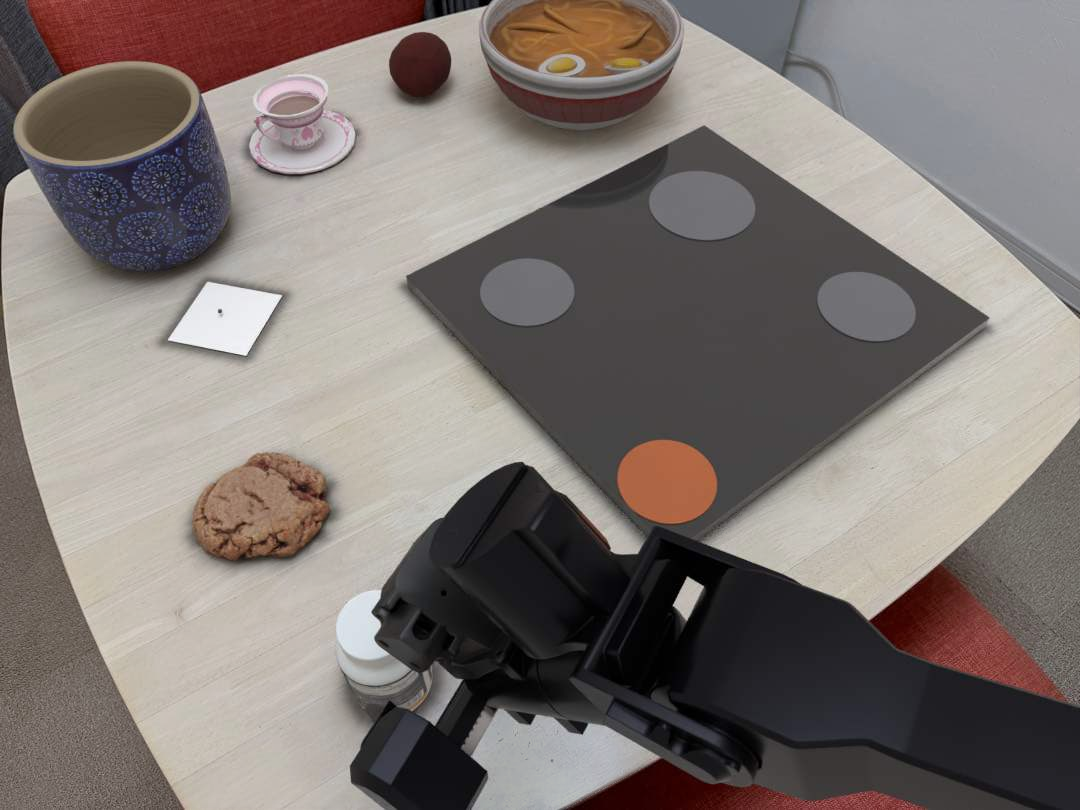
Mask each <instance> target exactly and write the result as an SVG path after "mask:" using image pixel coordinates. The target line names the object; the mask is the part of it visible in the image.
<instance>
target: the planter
mask: <svg viewBox="0 0 1080 810" xmlns="http://www.w3.org/2000/svg"><path fill="white" fill-rule="evenodd" d="M12 129H13V138H14V142H15V143H16V145H17V148H18V149H19V152H20V155H21V156H22V158H23V160H24V162H25V164H26V166H27V167H28V169H29V171H30V173H31V174H32V176H33V178H34V181H35V182H36V184H37V185H38V187H39V189H40V190H41V192H42V195H43V196H44V197H45V199H46V201H47V202H48V204H49V206H50V208H51V209H52V211H53V212H54V214H55V216H56V217H57V219H58V220H59V222H60V223H61V224H62V226H63V227H64V229H65V230H66V232H67V233H68V234H69V236H70V237H71V238H72V240H73V241H74V242H75V243H76V244H77V245H78V246H79V247H80V248H81V249H82V250H83V251H84V252H85V253H87V254H88V255H90V256H91V257H93V258H94V259H97V260H98V261H100V262H102V263H104V264H106V265H109V266H111V267H114V268H119V269H122V270H128V271H134V272H153V271H154V272H156V271H161V270H162V271H163V270H166V269H171V268H173V267H177V266H180V265H183V264H184V263H187V262H189V261H192V260H194V259H196V257H198V256H199V255H201V254H202V253H204V252H206V250H207V249H209V248H210V247H211V246H212V245H213V244H214V243H215V242H216V240H217V239H218V237H219V236H220V235H221V233H222V232H223V229H224V228H225V226H226V224H227V221H228V218H229V215H230V211H231V206H232V196H231V195H232V193H231V192H232V191H231V186H230V185H231V184H230V181H229V175H228V171H227V168H226V164H225V161H224V156H223V154H222V150H221V146H220V143H219V141H218V137H217V134H216V132H215V131H216V130H215V129H214V125H213V123H212V120H211V117H210V115H209V111H208V109H207V106H206V103H205V100H204V98H203V96H202V93H201V91H200V89H199V87H198V85H197V84H196V82H195V81H194V80H193V79H192V78H191V77H190V76H189V75H187V74H186V73H184V72H183V71H181V70H179V69H177V68H174V67H172V66H169V65H166V64H163V63H162V64H161V63H157V62H152V61H151V62H150V61H138V60H137V61H136V60H135V61H134V60H133V61H132V60H128V61H116V62H107V63H102V64H97V65H92V66H88V67H85V68H82V69H79V70H75V71H74V72H73V71H72V72H71V73H68V74H66V75H64V76H61V77H59V78H57V79H56V80H53V81H52V82H50V83H48V84H46V85H45V86H43V87H42V88H40V89H39V90H38V91H36V92H35V93H33V95H32V96H30V97H29V98H28V99H27V100H26V101H25V103H24V104H23V105H22V107H21V108H20V109H19V111H18V113H17V114H16V116H15V119H14V123H13V128H12Z"/></svg>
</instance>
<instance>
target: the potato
mask: <svg viewBox="0 0 1080 810" xmlns="http://www.w3.org/2000/svg"><path fill="white" fill-rule="evenodd" d="M388 69H389V75H390V76H391V78H392V80H393V82H394V83H395V85H396V86H397V87H398V89H399V90H400V91H401V92H403V94H405V95H406V96H408V97H410V98H414V99H425V98H427V97H430V96H432V95H433V94H435V93H436V92H437V91H439V90H440V89H441V88H442V87H443V85H444V84H445V83H446V81H447V80H448V79H449V77H450V73H451V69H452V55H451V51H450V50H449V46H448V45H447V43H446V42H445V41H444V40H443V39H442V38H441V37H440V36H438V34H434V33H432V32H429V31H416V32H412V33H411V34H408V35H406V36H404V37H403V38H402V39H400V40H399V42H398V43H397V44H396V46H395V47H394V48H393V50H392V51H391V53H390V57H389V59H388Z"/></svg>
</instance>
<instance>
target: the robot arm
mask: <svg viewBox="0 0 1080 810" xmlns="http://www.w3.org/2000/svg"><path fill="white" fill-rule="evenodd" d="M687 579H690V580H692V581H694V582H695V583H697V584H699V585H700V586H702V589H701V590H700V593H699V595H698V597H697V599H696V601H695V604H694V605H693V608H692V609H691V612H690V614H689V616H688V618H687V619H686V618H685V617H684V616H683V615H682V613H681V611H680V610H678V609H677V608H676V607H675V605H674V604H675V602H676V600H677V598H678V597H679V594H680V592H681V590H682V589H683V587H684V584H685V582H686V580H687ZM381 590H382V591H381V598H380V599H379V601H378V602H377V604H376V605H375V607H374V608H373V610H372V611H371V613H372V615H373V616H374V617H376V618H377V619H378V620H379V621H380V623H381V627H380V629H379V630H378V632H377V633H376V635H375V636H374V640H375V642H376V643H377V645H378V646H379V647H381V648H382V649H383V650H385V651H386V652H387V653H389V654H390V655H392V656H393V657H394V658H396V659H397V660H399V661H400V662H401V663H403V664H404V665H406V666H407V667H408V668H410V669H411V670H413V671H416V672H418V673H423V672H425V671H427V670H429V668H430V667H431V665H432V666H433V665H434V662H436V663H438V665H440V666H441V667H442V668H443V669H444V670H445V671H446V672H447V673H449V675H451V676H452V677H453V678H455V679H458V680H461V682H460V683H459V685H458V686H457V688H456V690H455V691H454V693H453V694H452V696H451V698H450V699H449V701H448V703H447V705H446V706H445V708H444V710H443V711H442V713H440V716H439V718H438V719H437V721H436V722H435V724H433V723H432V722H431V721H430V720H429V719H426V718H424V717H423V716H421V715H419V714H418V713H416V712H414V711H411V710H409V709H406V708H401V707H397V706H396V705H395V704H393V703H392V702H391V701H390V700H389V701H388V702H387V704H386V705H385V706H383V705H380V704H378V703H368V704H367V705H366V707H365V708H363V710H364V712H365V713H366V714H367V715H368V717H369V719H370V721H371V722H372V725H371V727H370V728H369V730H368V731H367V733H366V735H365V736H364V737H363V739H362V740H361V742H360V748H359V751H358V752H357V754H356V755H355V757H354V758H353V760H352V761H351V763H350V765H349V775H350V783H351V785H353V786H354V787H355V788H357V789H358V790H359V791H361V792H362V793H364V795H366V796H367V797H368V798H369V799H371V800H372V801H373V802H374V803H376V804H377V805H378V806H380V807H381V808H382V809H384V810H473V807H474V806H475V804H476V802H477V801H478V799H479V797H480V795H481V793H482V792H483V790H484V788H485V786H486V784H487V782H488V781H489V772H488V770H487V769H486V768H484V767H483V766H482V765H481V764H480V763H479V762H478V761H477V760H475V759H474V758H473V757H472V756H473V754H474V752H475V751H476V749H477V747H478V746H479V744H480V742H481V741H482V739H483V738H484V737H483V736H484V735H485V733H486V732H487V730H488V728H489V727H490V724H491V723H492V721H493V719H494V717H495V716H496V714H497V712H498V710H503V711H505V712H506V713H507V714H508V715H509V716H510V717H511V718H512V719H514V721H516V723H518V724H520V725H527V726H531V725H532V723H533V722H534V721H535V718H536V717H537V716H542V717H547V718H548V717H549V718H553V719H554V720H556V721H557V723H558V724H559V725H560V726H562V727H563V728H564V729H565V730H566V731H567V732H568V733H570V734H576V735H581V736H582V735H584V734H585V731H586V730H587V727H588V725H589V724H590V725H596V726H597V725H598V726H604V727H607V728H608V729H610V730H612V731H613V732H616V733H617V734H619V735H621V736H623V737H625V738H627V739H628V740H630V741H631V742H633V743H635V744H636V745H638V746H640V747H642V748H644V749H645V750H647V751H649V752H651V753H653V754H654V755H655V756H658V757H659V758H662V759H663V760H664V761H666V762H668V763H669V764H672V765H673V766H675V767H677V768H678V769H680V770H682V771H684V772H685V773H687V774H689V775H691V776H693V777H694V778H696V779H698V780H700V781H702V782H704V783H707V784H710V785H716V784H720V783H722V784H725V785H728V786H731V787H738V788H746V787H750V786H752V784H754V785H756V786H760V787H763V788H765V789H769V790H771V791H774V792H776V793H777V792H778V793H780V794H783V795H787V796H789V797H793V798H796V799H798V800H801V801H805V802H817V801H822V800H827V799H832V798H839V797H844V796H849V795H855V794H861V793H867V792H874V793H878V794H882V795H883V796H884V795H885V796H888V797H891V798H894V799H898V800H900V801H903V802H906V803H909V804H912V805H915V806H917V807H919V808H922V809H925V810H1080V705H1079V704H1075V703H1072V702H1068V701H1065V700H1062V699H1058V698H1055V697H1052V696H1048V695H1045V694H1042V693H1037V692H1035V691H1031V690H1027V689H1024V688H1021V687H1018V686H1014V685H1011V684H1009V683H1008V684H1007V683H1004V682H1000V681H997V680H994V679H990V678H987V677H983V676H981V675H977V674H974V673H971V672H967V671H963V670H960V669H958V668H957V669H956V668H953V667H950V666H946V665H943V664H940V663H936V662H933V661H931V660H927V659H925V658H922V657H920V656H917V655H914V654H912V653H909V652H907V651H903V650H902V649H899V648H897V647H896V646H895V645H894V644H893V643H892V642H891V641H890V640H889V639H888V638H887V637H886V636H885V635H884V634H883V633H882V632H881V631H880V630H879V629H878V628H877V627H876V626H875V625H874V624H873V623H872V622H871V621H869V619H868V618H867V617H866V616H865V615H864V614H863V613H862V612H861V611H860V610H858V608H856V607H855V606H854V605H853V604H852V603H851V602H849V601H847V600H845V599H842V598H839V597H836V596H834V595H832V594H828V593H826V592H823V591H820V590H817V589H814V588H812V587H809V586H807V585H804V584H802V583H801V582H799V581H797V580H796V579H794V578H792V577H790V576H788V575H786V574H784V573H782V572H779V571H776V570H774V569H771V568H768V567H766V566H763V565H761V564H758V563H756V562H753V561H750V560H747V559H745V558H743V557H740V556H738V555H735V554H732V553H729V552H727V551H724V550H721V549H719V548H716V547H714V546H711V545H710V544H709V545H708V544H706V543H704V542H702V541H701V542H700V541H699V540H698V541H696V540H693V539H691V538H688V537H685V536H683V535H680V534H678V533H675V532H672V531H670V530H667V529H665V528H662V527H659V526H654V527H652V529H651V531H650V532H649V534H648V536H646V538H645V540H644V541H643V543H642V545H641V547H640V549H639V551H638V553H627V554H626V553H623V554H622V553H615V552H613V551H612V547H611V545H610V543H609V541H608V539H607V538H606V536H605V535H603V533H602V532H601V531H600V529H598V528H597V526H595V524H594V523H592V522H591V520H590V519H589V518H588V517H587V516H586V515H585V514H584V513H583V511H582V510H581V509H580V508H579V507H578V506H577V505H576V504H575V503H574V502H573V501H572V499H570V498H569V496H568V495H567V494H565V493H563V492H560V491H558V490H556V489H554V487H552V485H550V483H549V482H548V481H547V480H546V479H545V478H544V477H543V475H542V474H541V473H539V471H538V470H537V469H536V468H535V467H534V466H532V465H528V464H526V463H525V462H524V461H514V462H512V463H509V464H506V465H503V466H501V467H499V468H496V469H495V470H493V471H492V472H490V473H489V474H487V475H485V476H484V477H483V478H481V479H479V480H478V481H477V482H476V483H475V484H474V485H472V486H471V487H470V488H469V489H468V490H467V491H465V493H464V494H463V495H461V496H460V498H458V499H457V500H456V502H455V503H454V504H453V505H452V506H451V508H449V510H448V511H447V512H446V513H445V515H444V516H443V517H439V518H437V519H435V520H434V521H433V522H431V523H430V525H429V526H428V527H427V528H426V529H425V530H424V531H423V532H422V533H421V534H420V535H419V536H418V537H417V538H416V540H415V541H414V542H413V543H412V545H411V546H410V548H409V549H408V551H407V552H406V553H405V555H404V556H403V557H402V559H401V560H400V562H399V564H398V565H397V566H396V567H395V569H394V571H393V572H392V573H391V575H390V576H389V577H388V579H387V580H386V582H385V583H384V584H383V586H382V588H381Z"/></svg>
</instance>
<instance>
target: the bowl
mask: <svg viewBox="0 0 1080 810" xmlns="http://www.w3.org/2000/svg"><path fill="white" fill-rule="evenodd" d="M480 16H481V17H480V19H479V22H478V37H479V43H480V49H481V53H482V55H483V58H484V61H485V63H486V65H487V68H488V70H489V72H490V75H491V77H492V79H493V81H494V82H495V83H496V85H497V86H498V88H499V90H501V92H502V94H504V96H505V97H506V98H507V100H508V101H509V102H511V103H512V105H514V106H516V107H517V108H518V110H520V111H521V112H523V113H524V114H525V115H526V116H528V117H529V118H531V119H533V120H535V121H537V122H539V123H542V124H545V125H548V126H551V127H554V128H557V129H562V130H568V131H569V130H570V131H591V130H597V129H601V128H606V127H610V126H613V125H616V124H619V123H621V122H623V121H625V120H628V119H629V118H630V117H632V116H634V115H635V114H636V113H638V112H639V111H640V110H642V109H643V108H645V107H646V106H647V105H649V104H650V102H651V101H652V100H653V99H654V98H655V97H656V96H657V94H659V92H660V91H661V90H662V88H663V87H664V86H665V85H666V83H667V82H668V80H669V78H670V76H671V74H672V71H673V69H674V67H675V66H676V63H677V61H678V60H679V58H680V54H681V52H682V46H683V42H684V35H685V26H684V22H683V18H682V16H681V14H680V13H679V11H678V10H677V8H676V7H675V5H674V4H673V3H672V2H670V0H491V1H490V2H489V4H487V6H486V7H485V9H484V10H483V11H482V14H481V15H480Z"/></svg>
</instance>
